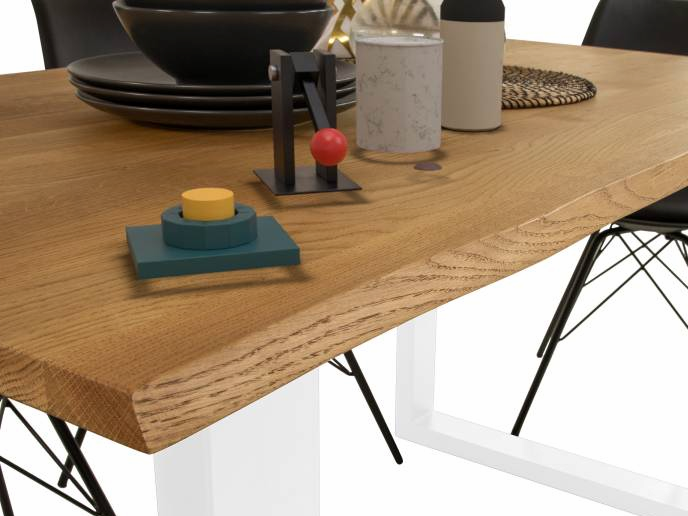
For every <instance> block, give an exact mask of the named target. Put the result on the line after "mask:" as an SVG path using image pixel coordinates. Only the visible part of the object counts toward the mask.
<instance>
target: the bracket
mask: <svg viewBox="0 0 688 516" xmlns="http://www.w3.org/2000/svg"><path fill="white" fill-rule="evenodd" d="M312 52H313V55H314V57H315V60H316V63H317V66H318V68H319V71H320V72H319V79H318V86H317V91H318V94H319V97H320V100H321V103H322V105H323V108H324V111H325V114H326V117H327V119H328V122H329V125H330V128H333V129H336V130H338V121H337V120H338V119H337V118H338V117H337V115H338V114H337V76H338V69H337V56H336V54H335V53H333V52H331V51H328V50H326V49H324V48H313V49H312ZM268 78H269V81H270V91H271V116H272V117H271V120H272V145H273V168H257V169H256V168H255V169H253V170H252V172H253V174H254V175H255V176H256V177H257V178H258V179H259V180H260V182H262V183H263V185H265V187H266V188H267V189H268V190H269V191H270V192H271V194H273V196H274V197H282V196H298V195H299V196H300V195H310V194H311V195H312V194H313V195H314V194H325V193H326V194H327V193H339V192H353V191H363V187H362V186H360V185H359V184H358V183H357V182H355V181H354V180H353V179H352V178H350V177H349V176H348V175H347V174H345V173H344V172H343V171H341V170H340V169H339V168H338V164H337V165H334V166H325V165H322V164H320V163H318V162H317V161H316V160H315V159H314V160H315V161H314V163H315V165H308V166H307V165H305V166H304V165H303V166H296V157H295V156H296V155H295V154H296V153H295V125H294V124H295V123H294V96H293V95H294V93H293V87H292V56H291V55H290V54H289V53H288V52H286V51H284V50H282V49H269V65H268ZM315 133H316V132H315V131H314V134H315Z"/></svg>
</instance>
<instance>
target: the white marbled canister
mask: <svg viewBox="0 0 688 516" xmlns="http://www.w3.org/2000/svg"><path fill="white" fill-rule="evenodd" d="M354 42H355V124H356V125H355V126H356V127H355V129H356V131H355V132H356V133H355V136H356V138H355V139H356V140H355V141H356V142H355V143H356V146H357V147H358V148H360V149H363V150H367V151H372V152H380V153H388V154H389V153H391V154H393V153H394V154H410V153H423V152H424V153H425V152H430V151H433V150H436V149H438V148H440V147H441V146H442V126H441V104H442V55H443V43H444V41H443V39H440V37H433V36H426V35H425V36H424V35H414V34H413V35H410V34H373V35H361V36H357V37H354Z"/></svg>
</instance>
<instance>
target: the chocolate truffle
mask: <svg viewBox="0 0 688 516" xmlns="http://www.w3.org/2000/svg"><path fill="white" fill-rule="evenodd" d="M413 169H414V170H417V171H423V172H424V171H425V172H435V171H440V170H442V169H443V167H442V165H441V164H439V163H437V162H435V161H427V160H426V161H421V162H418V163H416V164H414V166H413Z"/></svg>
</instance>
